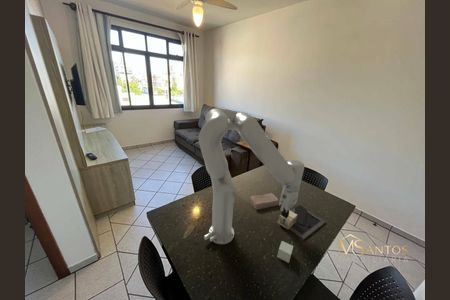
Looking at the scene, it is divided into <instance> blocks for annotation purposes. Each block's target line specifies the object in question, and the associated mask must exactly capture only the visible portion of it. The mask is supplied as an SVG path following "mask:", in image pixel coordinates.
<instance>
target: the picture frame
mask: <svg viewBox="0 0 450 300" xmlns="http://www.w3.org/2000/svg"><path fill="white" fill-rule="evenodd" d="M290 211H292V212H294V213H295V214H297V218H296V222H295V223H294V224H293V225H292V226H291V227H290V228H289V229H288V230H289V231H291V232H292V233H293V234H295V235H296V236H297V237H298V238H300V239H301V240H302V241H304V240H306V239H307V238H308V237H310V236H311V235H312V234H313V233H314V232H315V231H317V230H318V229H320V228H321V227H322V226H323V225H325V224H326V221H325V220H324V219H322V218H321V217H319V216H318V215H315V214H314V213H312V211H309V210H308V209H307V208H306V207H304V206H303V205H301V204H299V205H297V206H296V207H294V208H293V209H290ZM278 219H279V217H278V218H277V221H278Z"/></svg>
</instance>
